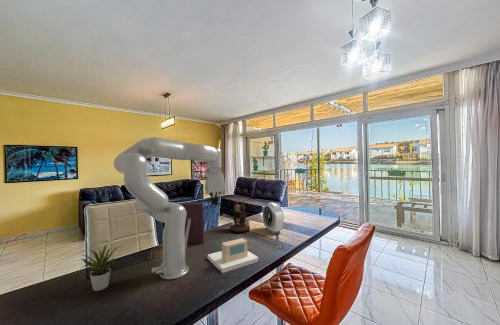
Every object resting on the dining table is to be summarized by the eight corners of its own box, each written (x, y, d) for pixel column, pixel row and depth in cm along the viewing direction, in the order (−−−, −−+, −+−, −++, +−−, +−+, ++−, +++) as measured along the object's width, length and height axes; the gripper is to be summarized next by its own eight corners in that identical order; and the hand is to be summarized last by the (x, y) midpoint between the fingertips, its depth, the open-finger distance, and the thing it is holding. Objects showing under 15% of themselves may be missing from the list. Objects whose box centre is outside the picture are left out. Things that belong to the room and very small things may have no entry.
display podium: (222, 273, 99) (222, 268, 99) (207, 258, 114) (207, 254, 114) (258, 261, 110) (258, 257, 110) (240, 249, 125) (240, 246, 125)
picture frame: (204, 243, 136) (203, 202, 135) (198, 249, 126) (198, 206, 126) (178, 242, 137) (177, 202, 137) (171, 248, 127) (170, 205, 127)
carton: (221, 259, 109) (226, 262, 104) (221, 243, 108) (226, 246, 104) (242, 253, 115) (247, 256, 111) (242, 238, 115) (247, 241, 111)
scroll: (254, 230, 159) (253, 203, 159) (238, 235, 149) (238, 206, 149) (240, 226, 170) (240, 200, 170) (225, 230, 160) (225, 203, 159)
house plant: (116, 272, 100) (115, 237, 100) (129, 283, 91) (128, 244, 91) (77, 287, 89) (77, 247, 89) (87, 300, 80) (87, 256, 80)
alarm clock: (262, 228, 163) (261, 201, 163) (271, 226, 167) (271, 200, 167) (274, 235, 147) (274, 205, 147) (285, 233, 151) (284, 204, 150)
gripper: (204, 171, 112) (204, 207, 112) (229, 170, 120) (230, 203, 120) (199, 171, 118) (199, 204, 119) (223, 170, 127) (224, 201, 127)
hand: (215, 204), depth 120 cm, fingers closed
